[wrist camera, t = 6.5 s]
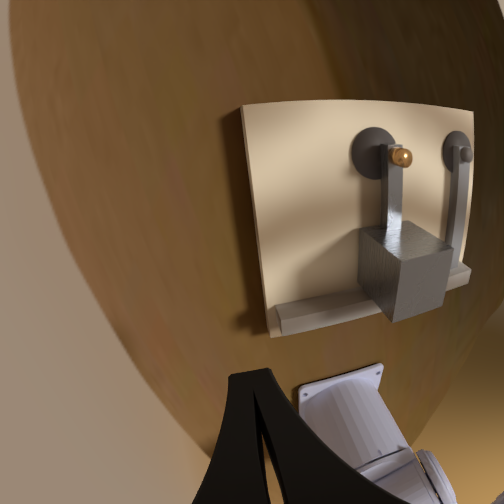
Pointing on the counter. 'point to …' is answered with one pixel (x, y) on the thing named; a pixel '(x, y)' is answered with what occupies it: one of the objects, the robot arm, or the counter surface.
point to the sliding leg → (401, 250)
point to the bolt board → (346, 197)
